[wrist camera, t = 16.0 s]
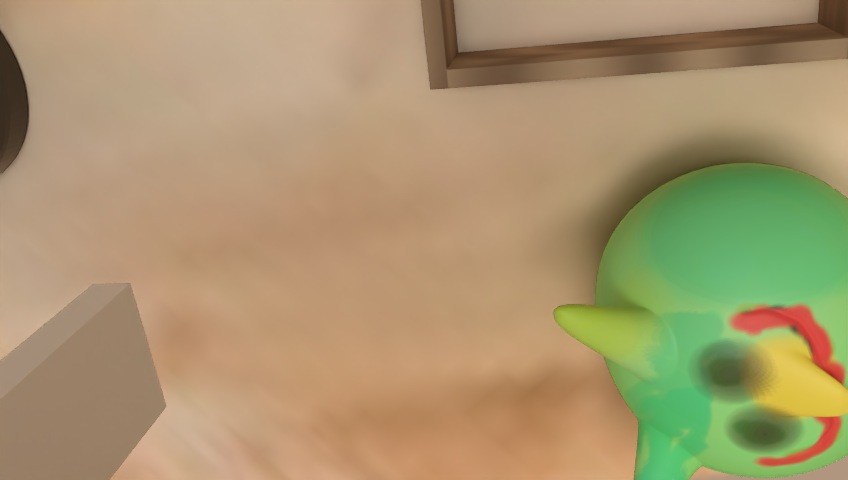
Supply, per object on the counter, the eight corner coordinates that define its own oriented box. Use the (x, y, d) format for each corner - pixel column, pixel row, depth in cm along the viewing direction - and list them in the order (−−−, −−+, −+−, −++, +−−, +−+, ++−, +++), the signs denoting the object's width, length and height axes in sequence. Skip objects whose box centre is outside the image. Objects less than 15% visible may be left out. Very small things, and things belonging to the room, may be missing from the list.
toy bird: (884, 348, 49) (1003, 515, 36) (627, 412, 54) (648, 579, 41) (816, 91, 43) (927, 177, 30) (536, 190, 48) (526, 300, 35)
